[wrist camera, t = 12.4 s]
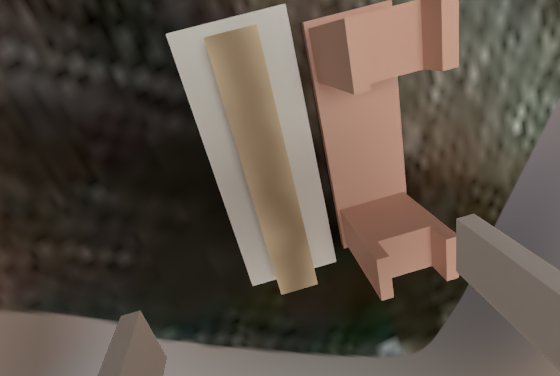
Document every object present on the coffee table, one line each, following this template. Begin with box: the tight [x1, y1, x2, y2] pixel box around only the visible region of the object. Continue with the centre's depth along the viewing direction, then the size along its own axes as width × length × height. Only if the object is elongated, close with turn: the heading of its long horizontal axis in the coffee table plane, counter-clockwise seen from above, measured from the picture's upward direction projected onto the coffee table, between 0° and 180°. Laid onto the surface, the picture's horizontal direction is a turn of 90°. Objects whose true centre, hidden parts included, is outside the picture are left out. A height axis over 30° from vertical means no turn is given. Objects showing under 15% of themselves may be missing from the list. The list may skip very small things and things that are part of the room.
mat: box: [166, 4, 336, 286], centre depth 29 cm, size 9×24×1 cm, turn 13°
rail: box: [204, 24, 318, 295], centre depth 27 cm, size 4×22×4 cm, turn 13°
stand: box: [301, 0, 459, 301], centre depth 25 cm, size 7×21×9 cm, turn 13°
